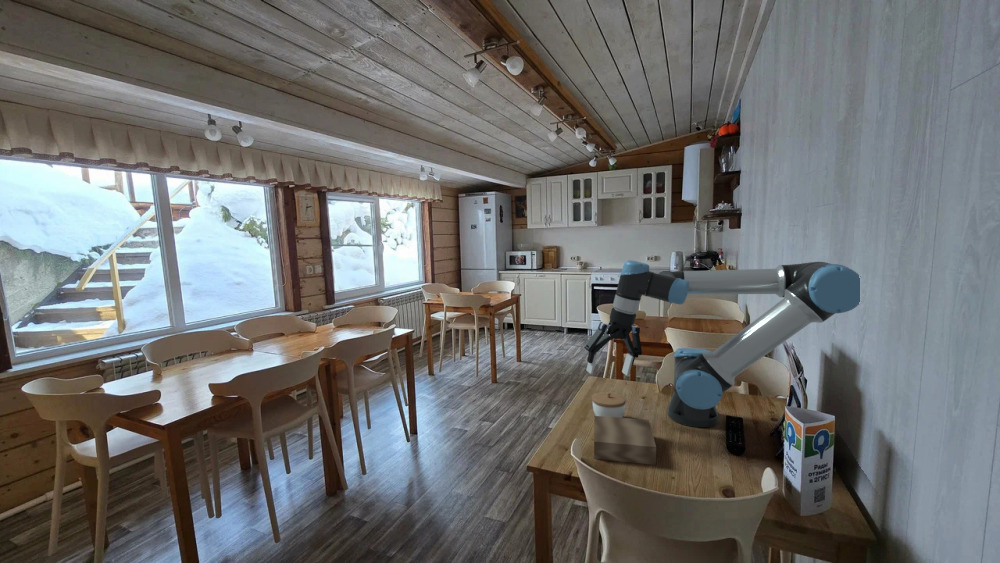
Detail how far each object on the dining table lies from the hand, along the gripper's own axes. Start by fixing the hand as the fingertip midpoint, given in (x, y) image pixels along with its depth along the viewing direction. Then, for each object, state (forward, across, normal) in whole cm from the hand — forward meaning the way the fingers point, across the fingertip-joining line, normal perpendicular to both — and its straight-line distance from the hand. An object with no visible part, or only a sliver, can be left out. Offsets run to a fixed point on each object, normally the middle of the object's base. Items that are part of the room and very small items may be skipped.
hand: (607, 373), depth 130 cm
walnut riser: (+15, +1, +16) cm, 22 cm away
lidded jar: (+17, -5, +1) cm, 17 cm away
